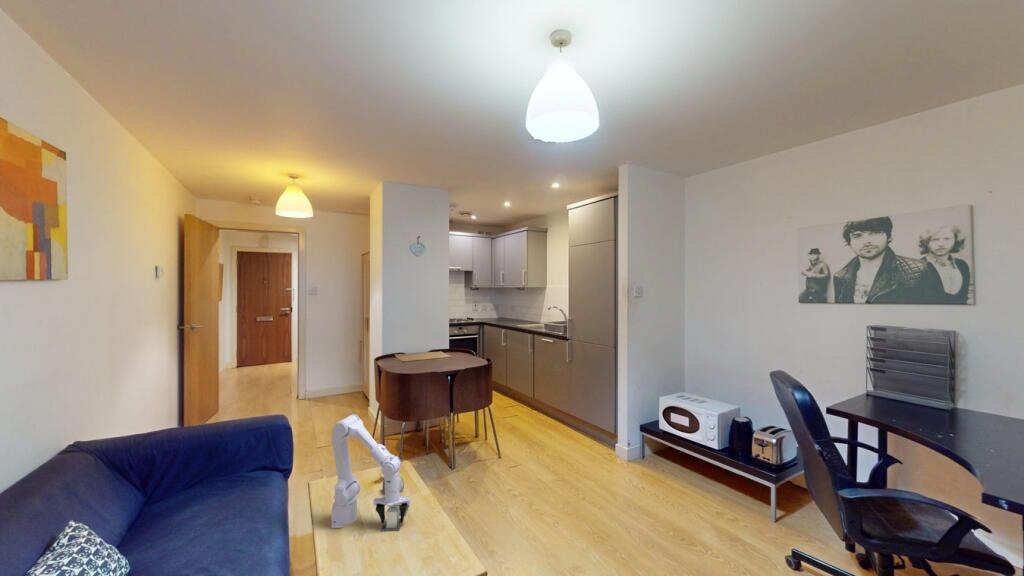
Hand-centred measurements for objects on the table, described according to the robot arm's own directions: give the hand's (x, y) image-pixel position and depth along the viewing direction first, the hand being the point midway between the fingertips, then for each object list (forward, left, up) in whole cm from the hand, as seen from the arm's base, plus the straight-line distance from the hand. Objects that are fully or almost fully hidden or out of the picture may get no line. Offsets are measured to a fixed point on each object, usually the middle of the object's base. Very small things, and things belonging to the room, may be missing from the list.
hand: (392, 521), depth 161 cm
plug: (0, 0, -2) cm, 2 cm away
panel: (0, +5, -3) cm, 6 cm away
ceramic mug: (-8, +27, -3) cm, 29 cm away
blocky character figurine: (-12, +38, -3) cm, 40 cm away
